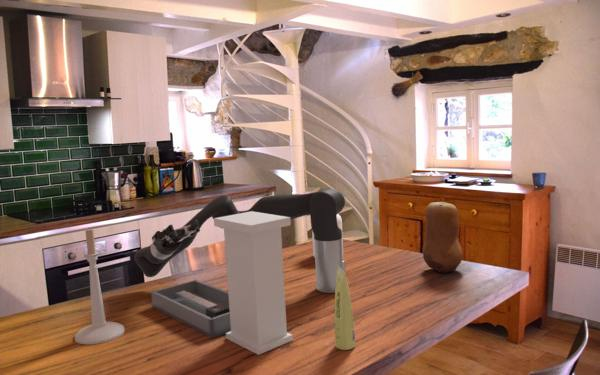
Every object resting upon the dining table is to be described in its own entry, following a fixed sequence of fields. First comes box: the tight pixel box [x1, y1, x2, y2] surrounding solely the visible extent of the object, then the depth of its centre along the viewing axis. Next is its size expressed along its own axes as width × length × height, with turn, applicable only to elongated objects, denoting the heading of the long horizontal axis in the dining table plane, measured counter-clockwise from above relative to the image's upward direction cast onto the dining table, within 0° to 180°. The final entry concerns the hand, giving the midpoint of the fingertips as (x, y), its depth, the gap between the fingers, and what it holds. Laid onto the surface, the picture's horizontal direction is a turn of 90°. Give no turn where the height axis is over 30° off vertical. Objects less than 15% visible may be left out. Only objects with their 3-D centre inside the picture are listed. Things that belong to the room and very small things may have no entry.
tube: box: [334, 266, 356, 351], centre depth 122 cm, size 6×5×20 cm
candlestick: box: [74, 227, 126, 345], centre depth 137 cm, size 13×13×30 cm
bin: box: [150, 279, 231, 339], centre depth 150 cm, size 35×16×5 cm, turn 42°
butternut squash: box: [422, 201, 463, 274], centre depth 179 cm, size 14×13×25 cm
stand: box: [213, 211, 294, 356], centre depth 128 cm, size 16×12×32 cm
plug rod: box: [175, 290, 230, 318], centre depth 150 cm, size 25×5×3 cm, turn 41°
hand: (185, 225), depth 152 cm, fingers open, 8 cm apart
